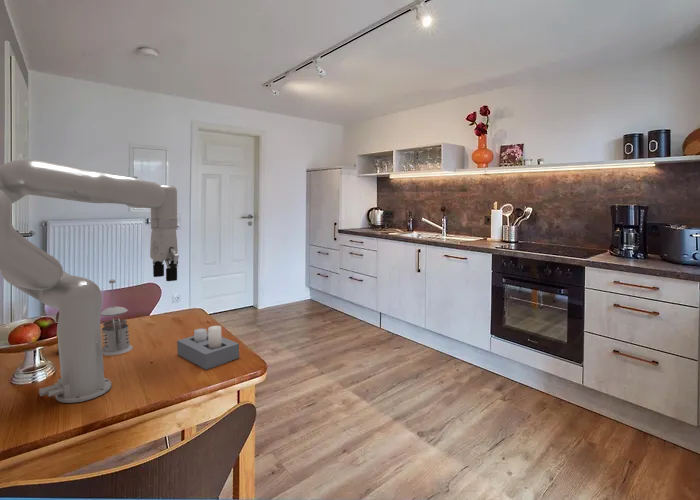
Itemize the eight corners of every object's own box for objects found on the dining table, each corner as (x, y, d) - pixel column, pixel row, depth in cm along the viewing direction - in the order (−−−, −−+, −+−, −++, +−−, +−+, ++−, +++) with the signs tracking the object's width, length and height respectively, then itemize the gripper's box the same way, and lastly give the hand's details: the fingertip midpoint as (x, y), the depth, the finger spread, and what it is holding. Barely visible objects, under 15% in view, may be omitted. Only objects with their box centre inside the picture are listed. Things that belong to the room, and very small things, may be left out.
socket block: (206, 369, 121) (205, 345, 120) (177, 354, 132) (176, 331, 131) (239, 358, 130) (238, 335, 129) (210, 344, 141) (209, 323, 140)
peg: (213, 360, 125) (212, 330, 124) (206, 357, 128) (205, 327, 127) (224, 356, 128) (223, 327, 127) (217, 353, 131) (216, 324, 130)
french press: (130, 342, 143) (126, 275, 139) (135, 352, 133) (131, 281, 130) (99, 348, 137) (93, 278, 134) (101, 359, 128) (96, 284, 124)
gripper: (141, 223, 126) (142, 276, 127) (163, 226, 114) (164, 284, 116) (164, 223, 131) (165, 274, 133) (188, 226, 120) (189, 281, 121)
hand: (165, 278), depth 124 cm, fingers open, 9 cm apart
